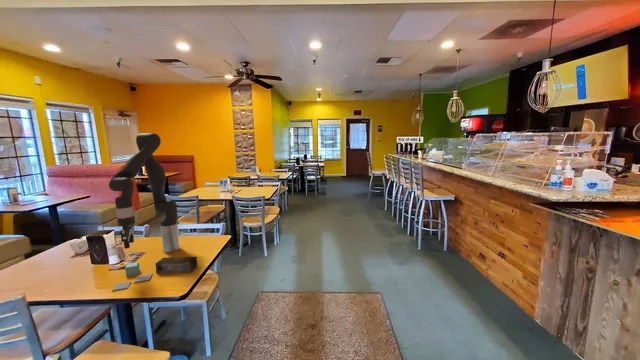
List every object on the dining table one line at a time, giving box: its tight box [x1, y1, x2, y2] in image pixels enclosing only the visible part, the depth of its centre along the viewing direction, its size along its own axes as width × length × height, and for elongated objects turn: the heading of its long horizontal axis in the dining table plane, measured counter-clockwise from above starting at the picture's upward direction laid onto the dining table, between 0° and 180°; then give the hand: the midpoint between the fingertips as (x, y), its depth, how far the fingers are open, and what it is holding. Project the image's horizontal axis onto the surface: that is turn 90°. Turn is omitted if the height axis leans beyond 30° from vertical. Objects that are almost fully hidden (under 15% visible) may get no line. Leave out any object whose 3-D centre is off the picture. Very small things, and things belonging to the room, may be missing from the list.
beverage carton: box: [154, 256, 198, 274], centre depth 148 cm, size 8×19×7 cm, turn 90°
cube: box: [125, 261, 141, 277], centre depth 144 cm, size 5×5×5 cm
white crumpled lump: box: [69, 235, 89, 255], centre depth 174 cm, size 11×12×9 cm
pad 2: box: [133, 272, 153, 284], centre depth 139 cm, size 7×7×1 cm
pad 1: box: [111, 281, 131, 292], centre depth 131 cm, size 6×6×1 cm
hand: (129, 245), depth 142 cm, fingers open, 8 cm apart
